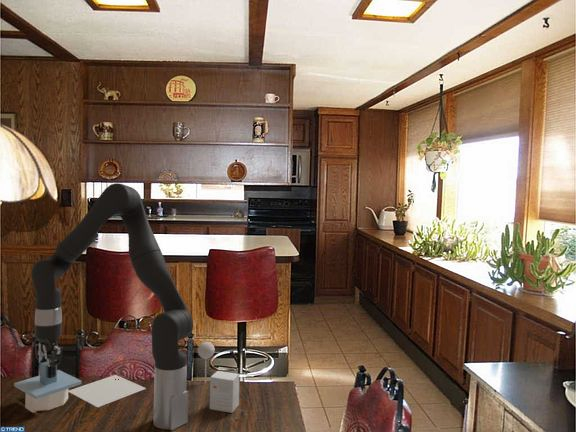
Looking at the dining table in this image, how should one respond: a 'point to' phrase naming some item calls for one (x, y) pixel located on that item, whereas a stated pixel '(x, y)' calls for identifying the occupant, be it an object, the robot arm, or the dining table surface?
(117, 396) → the mat
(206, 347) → the lollipop
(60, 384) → the lid
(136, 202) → the robot arm
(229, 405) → the small box
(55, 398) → the bowl
